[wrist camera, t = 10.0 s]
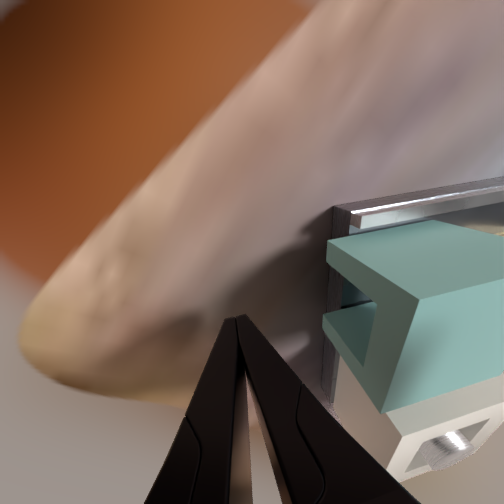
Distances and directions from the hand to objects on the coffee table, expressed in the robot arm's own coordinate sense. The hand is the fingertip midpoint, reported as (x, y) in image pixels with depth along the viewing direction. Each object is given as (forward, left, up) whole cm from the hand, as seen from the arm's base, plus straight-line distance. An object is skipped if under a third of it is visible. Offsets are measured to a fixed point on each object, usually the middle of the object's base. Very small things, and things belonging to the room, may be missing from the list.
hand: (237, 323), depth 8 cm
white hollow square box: (-9, +8, -1) cm, 12 cm away
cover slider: (-7, 0, -1) cm, 7 cm away
